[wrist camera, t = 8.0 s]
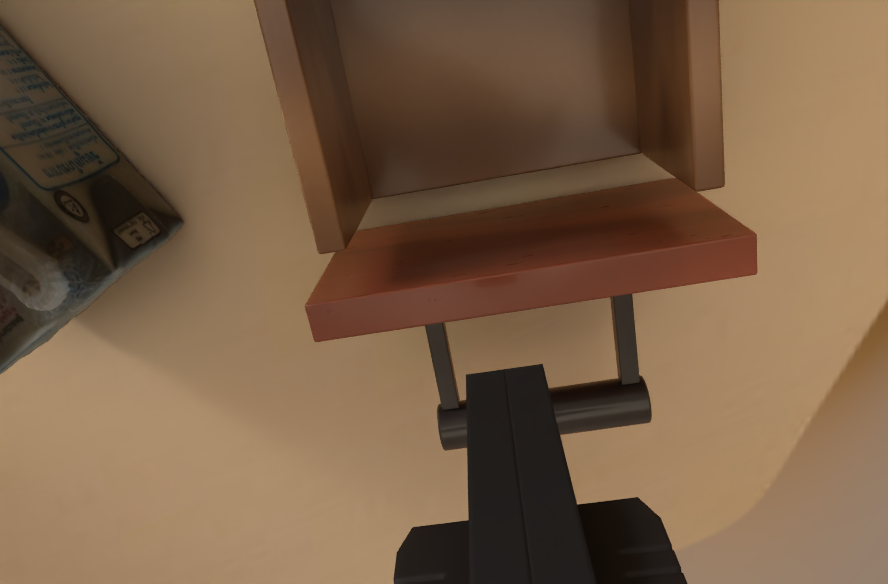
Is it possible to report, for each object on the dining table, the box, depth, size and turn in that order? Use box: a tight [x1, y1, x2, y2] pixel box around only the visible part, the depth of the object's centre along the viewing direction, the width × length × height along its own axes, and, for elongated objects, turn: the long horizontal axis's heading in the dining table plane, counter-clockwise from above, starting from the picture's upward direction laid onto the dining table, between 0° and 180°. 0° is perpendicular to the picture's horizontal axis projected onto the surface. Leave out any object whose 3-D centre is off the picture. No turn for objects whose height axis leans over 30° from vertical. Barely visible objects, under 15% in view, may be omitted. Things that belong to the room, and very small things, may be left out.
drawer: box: [254, 0, 757, 451], centre depth 21 cm, size 20×12×7 cm, turn 10°
